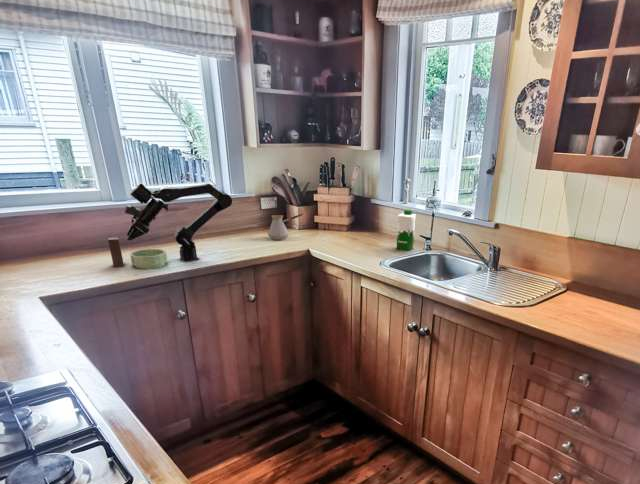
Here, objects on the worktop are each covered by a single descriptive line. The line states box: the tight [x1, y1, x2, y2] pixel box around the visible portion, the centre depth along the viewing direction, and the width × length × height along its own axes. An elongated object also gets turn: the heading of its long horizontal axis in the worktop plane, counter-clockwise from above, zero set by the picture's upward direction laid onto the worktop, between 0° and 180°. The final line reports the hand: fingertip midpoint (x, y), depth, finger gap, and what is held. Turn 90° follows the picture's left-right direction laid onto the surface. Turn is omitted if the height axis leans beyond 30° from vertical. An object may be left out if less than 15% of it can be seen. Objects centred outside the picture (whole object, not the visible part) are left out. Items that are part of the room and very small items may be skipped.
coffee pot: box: [267, 213, 304, 241], centre depth 260 cm, size 21×12×15 cm, turn 78°
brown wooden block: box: [107, 237, 125, 268], centre depth 204 cm, size 4×4×12 cm
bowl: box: [129, 248, 168, 270], centre depth 208 cm, size 15×15×6 cm
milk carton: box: [396, 209, 417, 252], centre depth 248 cm, size 9×9×20 cm
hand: (128, 237), depth 204 cm, fingers open, 9 cm apart
